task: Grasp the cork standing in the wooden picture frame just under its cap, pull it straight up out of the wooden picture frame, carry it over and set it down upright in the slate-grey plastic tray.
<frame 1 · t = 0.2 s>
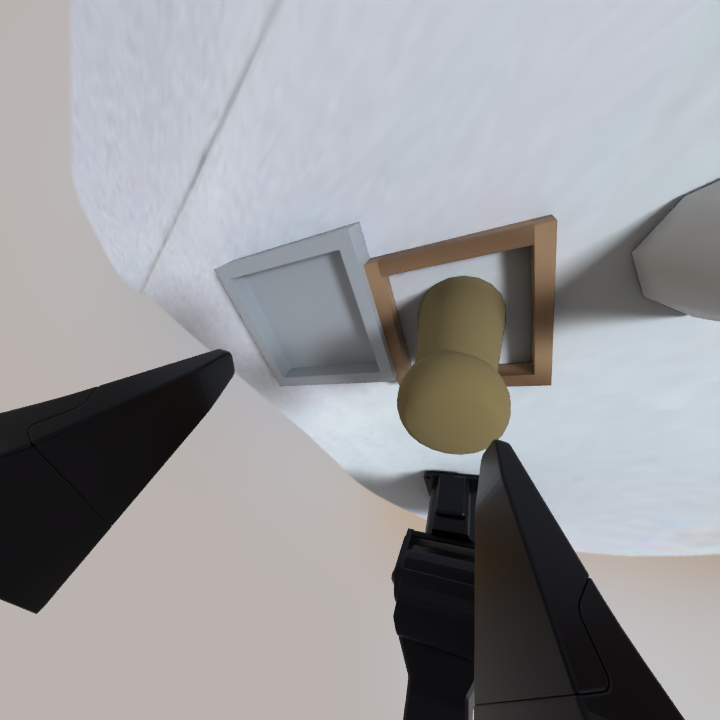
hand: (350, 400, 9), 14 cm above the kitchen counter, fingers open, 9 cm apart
tray: (317, 314, 25), on the kitchen counter
wooden picture frame: (460, 316, 21), on the kitchen counter
cork: (460, 315, 21), resting in wooden picture frame
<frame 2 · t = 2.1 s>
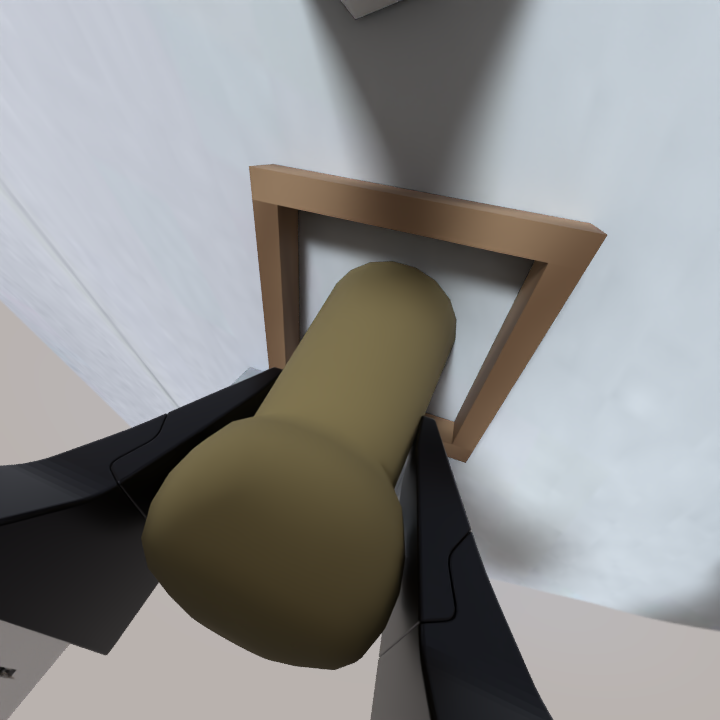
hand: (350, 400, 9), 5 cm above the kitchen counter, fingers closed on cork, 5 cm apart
tray: (332, 455, 21), on the kitchen counter
wooden picture frame: (387, 327, 13), on the kitchen counter
cork: (388, 325, 13), resting in wooden picture frame, touching gripper
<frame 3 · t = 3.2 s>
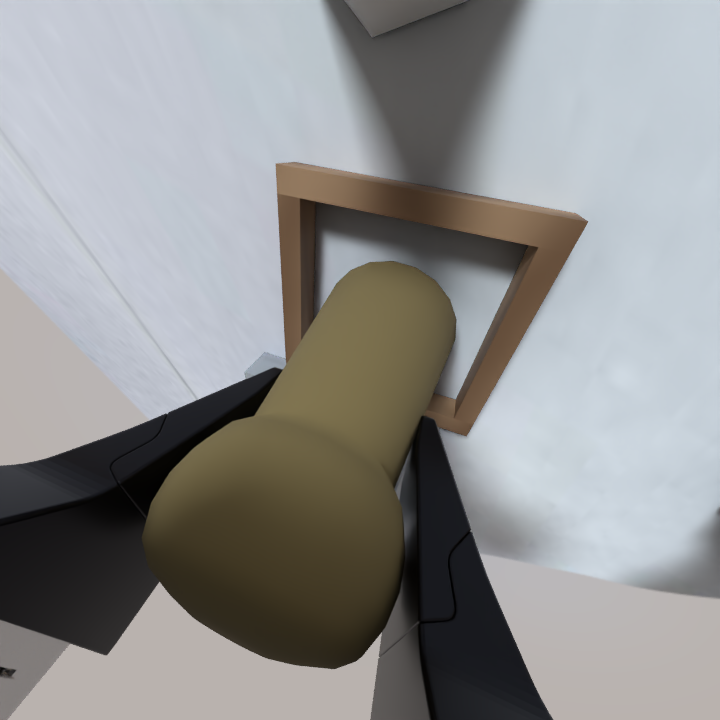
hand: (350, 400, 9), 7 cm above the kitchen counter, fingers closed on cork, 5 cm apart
tray: (340, 436, 22), on the kitchen counter
wooden picture frame: (395, 310, 15), on the kitchen counter
cork: (388, 325, 13), point 1 cm above the kitchen counter, touching gripper
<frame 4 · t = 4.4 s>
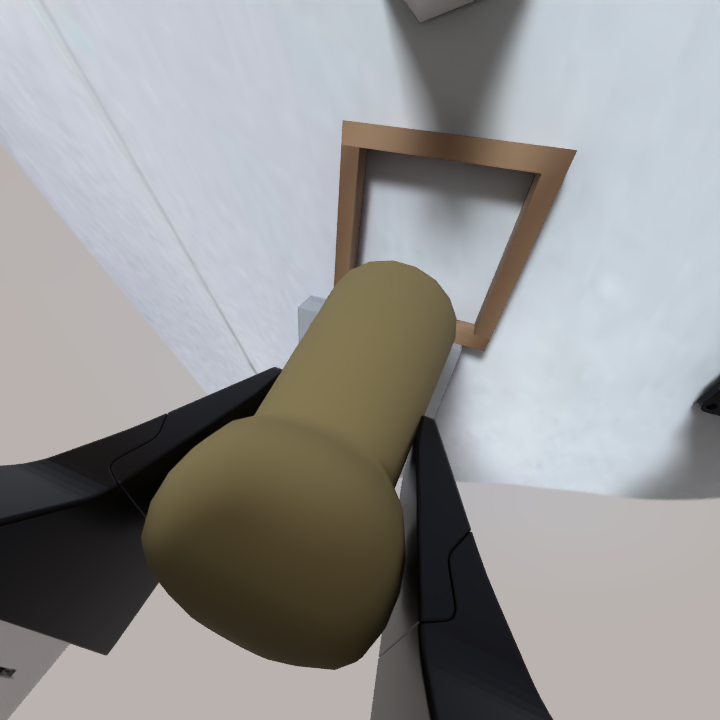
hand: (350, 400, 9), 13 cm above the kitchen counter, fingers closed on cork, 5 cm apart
tray: (372, 373, 26), on the kitchen counter
wooden picture frame: (426, 245, 18), on the kitchen counter
cork: (388, 324, 13), point 8 cm above the kitchen counter, touching gripper
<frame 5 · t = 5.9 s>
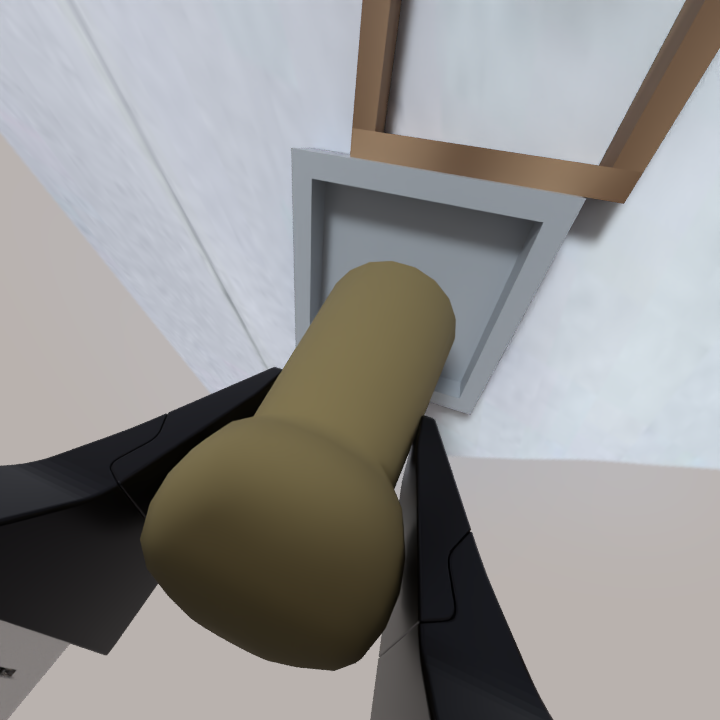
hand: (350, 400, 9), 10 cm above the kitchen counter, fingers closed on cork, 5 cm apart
tray: (404, 289, 17), on the kitchen counter
cork: (388, 325, 13), point 5 cm above the kitchen counter, touching gripper
when the fingers open (6 cm above the kitchen counter, at t = 7.0 s): cork stays where it is, resting on tray.
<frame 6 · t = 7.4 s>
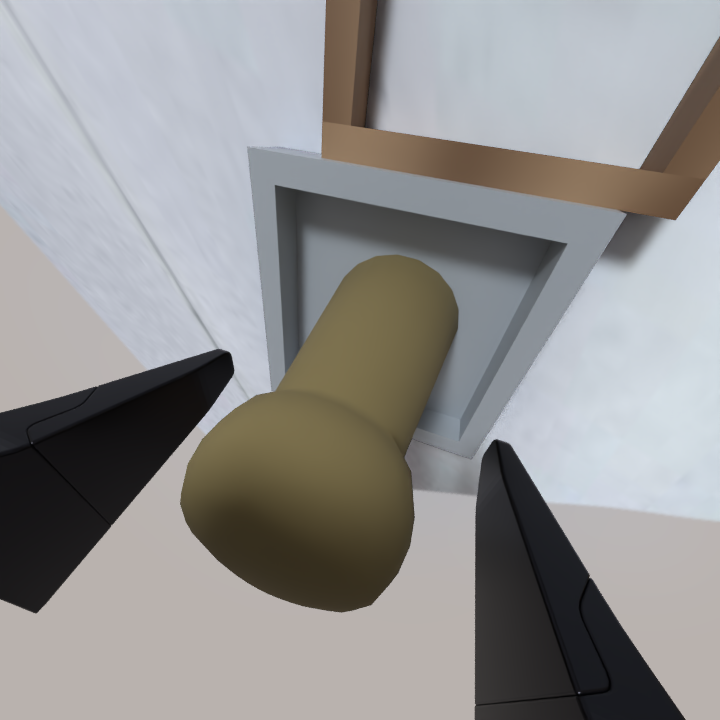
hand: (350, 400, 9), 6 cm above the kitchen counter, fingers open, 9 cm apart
tray: (393, 313, 14), on the kitchen counter
cork: (393, 316, 14), resting on tray
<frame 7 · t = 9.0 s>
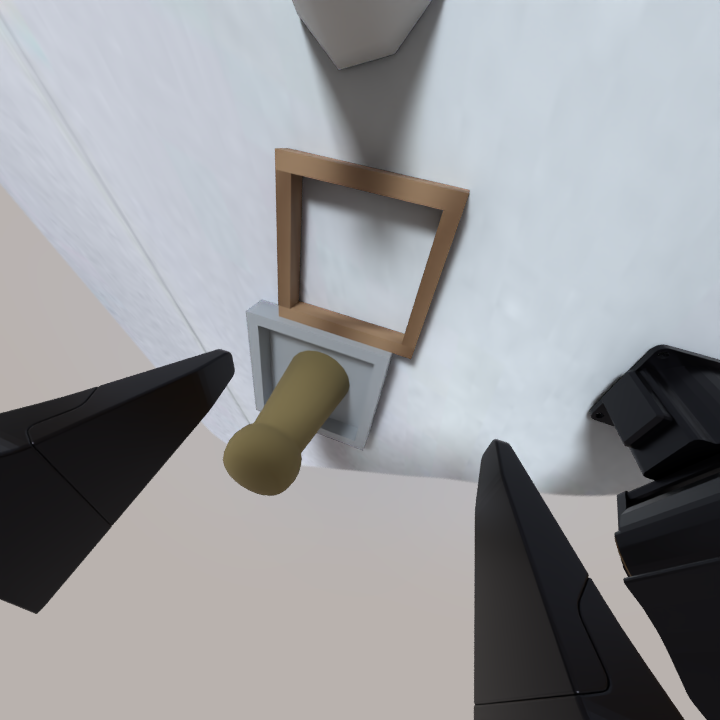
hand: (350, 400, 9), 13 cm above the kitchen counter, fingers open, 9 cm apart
tray: (321, 373, 28), on the kitchen counter
wooden picture frame: (359, 261, 20), on the kitchen counter
cork: (320, 376, 27), resting on tray
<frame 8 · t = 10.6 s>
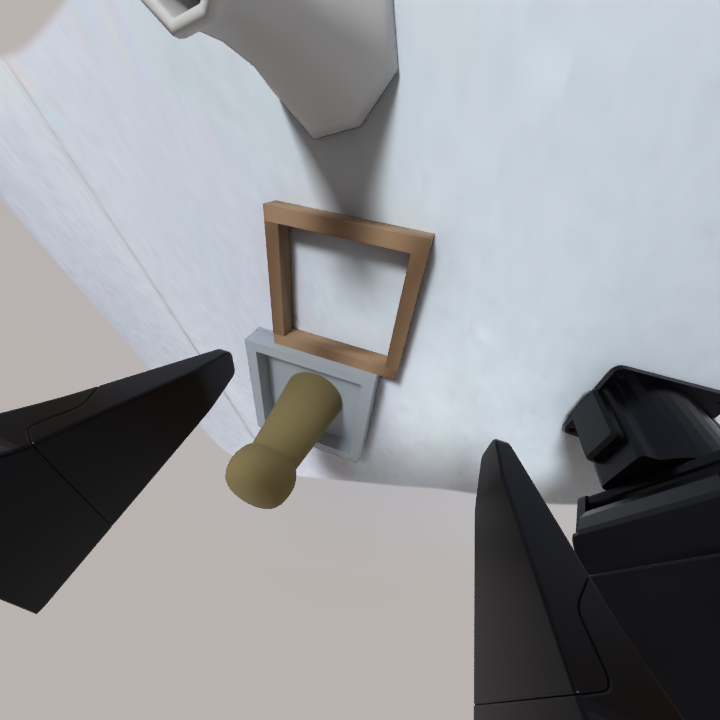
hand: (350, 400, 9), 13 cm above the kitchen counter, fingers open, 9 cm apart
tray: (316, 392, 30), on the kitchen counter
wooden picture frame: (343, 294, 22), on the kitchen counter
flask: (330, 47, 15), on the kitchen counter
cork: (315, 394, 29), resting on tray
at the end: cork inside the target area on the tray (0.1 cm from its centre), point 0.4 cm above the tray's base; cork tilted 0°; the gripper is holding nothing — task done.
